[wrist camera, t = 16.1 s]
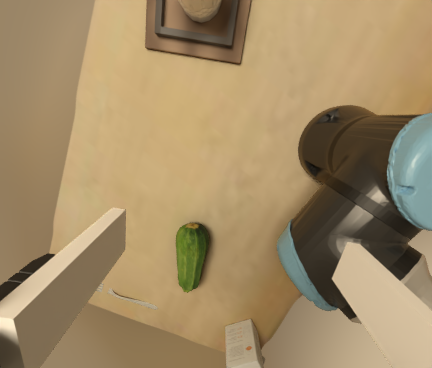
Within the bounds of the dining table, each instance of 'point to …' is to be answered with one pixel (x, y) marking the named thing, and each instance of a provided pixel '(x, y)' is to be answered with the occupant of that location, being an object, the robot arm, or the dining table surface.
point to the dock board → (197, 30)
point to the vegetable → (191, 254)
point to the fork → (128, 298)
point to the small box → (243, 346)
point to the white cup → (200, 9)
